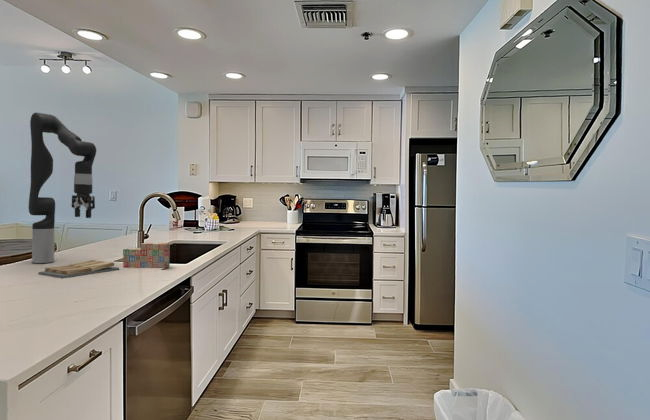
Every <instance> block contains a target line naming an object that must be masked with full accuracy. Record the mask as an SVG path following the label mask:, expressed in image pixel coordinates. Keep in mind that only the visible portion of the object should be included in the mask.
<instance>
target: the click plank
mask: <svg viewBox="0 0 650 420" xmlns="http://www.w3.org/2000/svg"><path fill="white" fill-rule="evenodd" d="M69 265H70V266H77V267H85V268H91V271H95V270H99V269H103V268H107V267H115V262H111V261H104V260H103V261H102V260H95V259H94V260H93V259H90V260H85V261H80V262H75V263H71V264H69Z"/></svg>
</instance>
